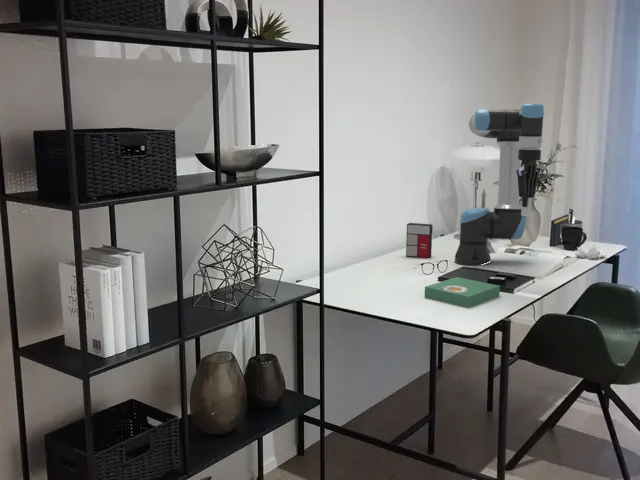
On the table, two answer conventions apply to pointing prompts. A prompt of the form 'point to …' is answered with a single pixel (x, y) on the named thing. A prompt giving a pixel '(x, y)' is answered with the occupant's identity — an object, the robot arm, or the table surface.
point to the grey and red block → (419, 240)
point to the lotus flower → (590, 252)
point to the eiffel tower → (484, 207)
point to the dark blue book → (556, 230)
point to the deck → (462, 292)
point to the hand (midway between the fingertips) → (525, 215)
